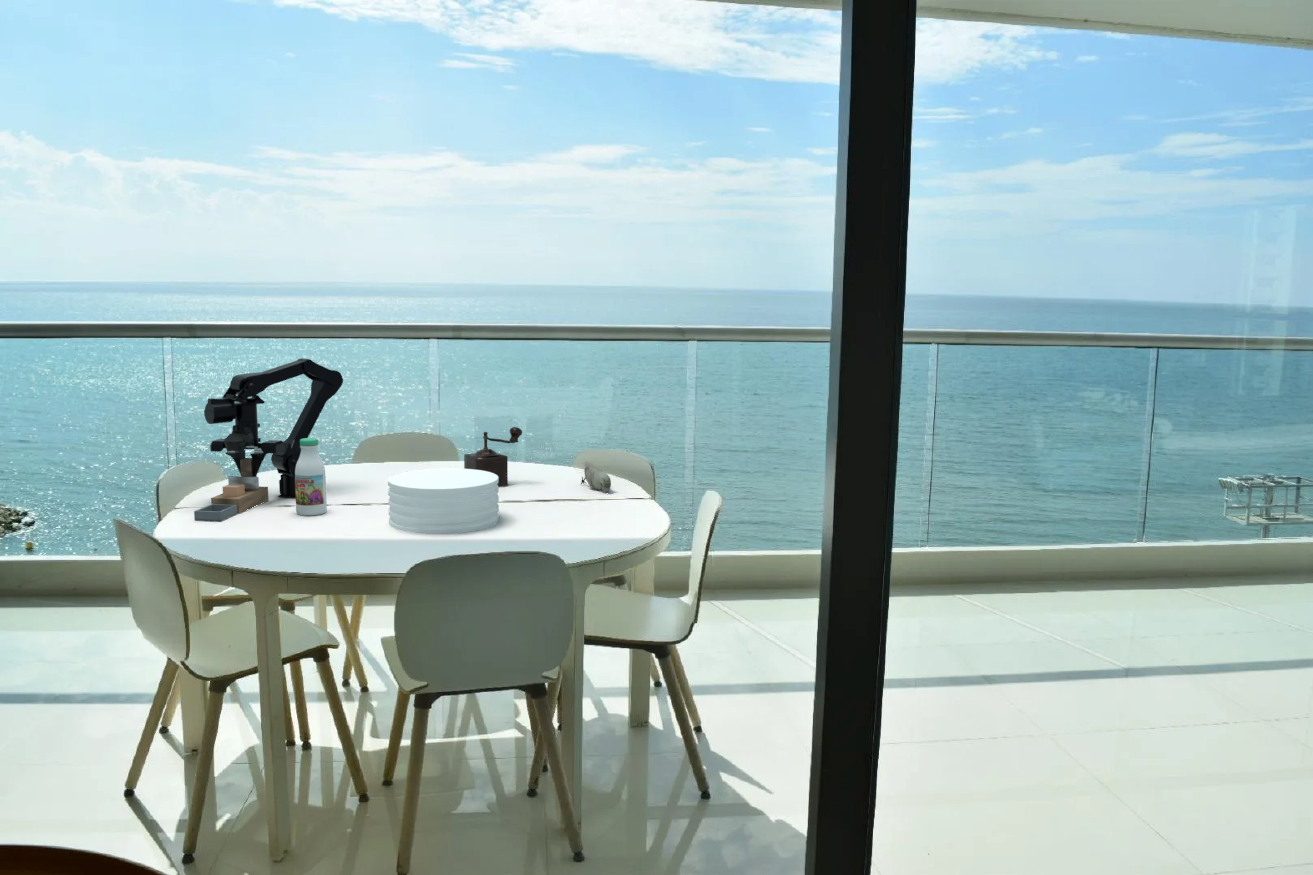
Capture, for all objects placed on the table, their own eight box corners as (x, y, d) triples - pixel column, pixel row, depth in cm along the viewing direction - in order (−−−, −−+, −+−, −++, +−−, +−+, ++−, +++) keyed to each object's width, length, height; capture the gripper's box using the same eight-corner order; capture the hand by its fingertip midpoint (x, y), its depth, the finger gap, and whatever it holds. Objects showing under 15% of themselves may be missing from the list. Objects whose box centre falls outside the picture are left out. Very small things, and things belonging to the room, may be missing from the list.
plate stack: (372, 517, 262) (370, 474, 260) (468, 505, 278) (468, 464, 277) (416, 539, 240) (415, 493, 238) (518, 524, 256) (518, 481, 255)
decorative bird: (599, 495, 294) (599, 470, 293) (577, 485, 308) (577, 462, 307) (616, 493, 297) (616, 469, 296) (593, 484, 311) (593, 460, 310)
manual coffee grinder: (478, 490, 298) (477, 430, 296) (463, 483, 307) (462, 426, 305) (524, 485, 307) (524, 427, 304) (509, 479, 316) (508, 423, 313)
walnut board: (268, 500, 279) (267, 486, 278) (239, 513, 262) (238, 499, 262) (242, 499, 279) (241, 485, 279) (211, 512, 263) (210, 498, 262)
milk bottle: (302, 509, 269) (299, 436, 266) (330, 509, 269) (328, 436, 266) (291, 516, 261) (289, 440, 258) (321, 516, 261) (318, 441, 258)
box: (237, 514, 262) (237, 504, 262) (220, 521, 254) (220, 512, 253) (212, 513, 262) (211, 504, 262) (194, 520, 254) (194, 511, 254)
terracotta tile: (244, 493, 269) (244, 484, 268) (237, 496, 265) (236, 487, 264) (230, 492, 269) (230, 483, 269) (223, 495, 265) (222, 486, 265)
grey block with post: (265, 484, 276) (264, 458, 275) (256, 488, 271) (255, 461, 270) (238, 484, 277) (237, 457, 276) (228, 487, 272) (227, 460, 271)
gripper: (197, 423, 265) (200, 481, 268) (265, 425, 264) (267, 483, 266) (219, 418, 276) (222, 473, 279) (284, 420, 275) (286, 475, 277)
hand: (248, 476), depth 275 cm, fingers closed on grey block with post, 3 cm apart
